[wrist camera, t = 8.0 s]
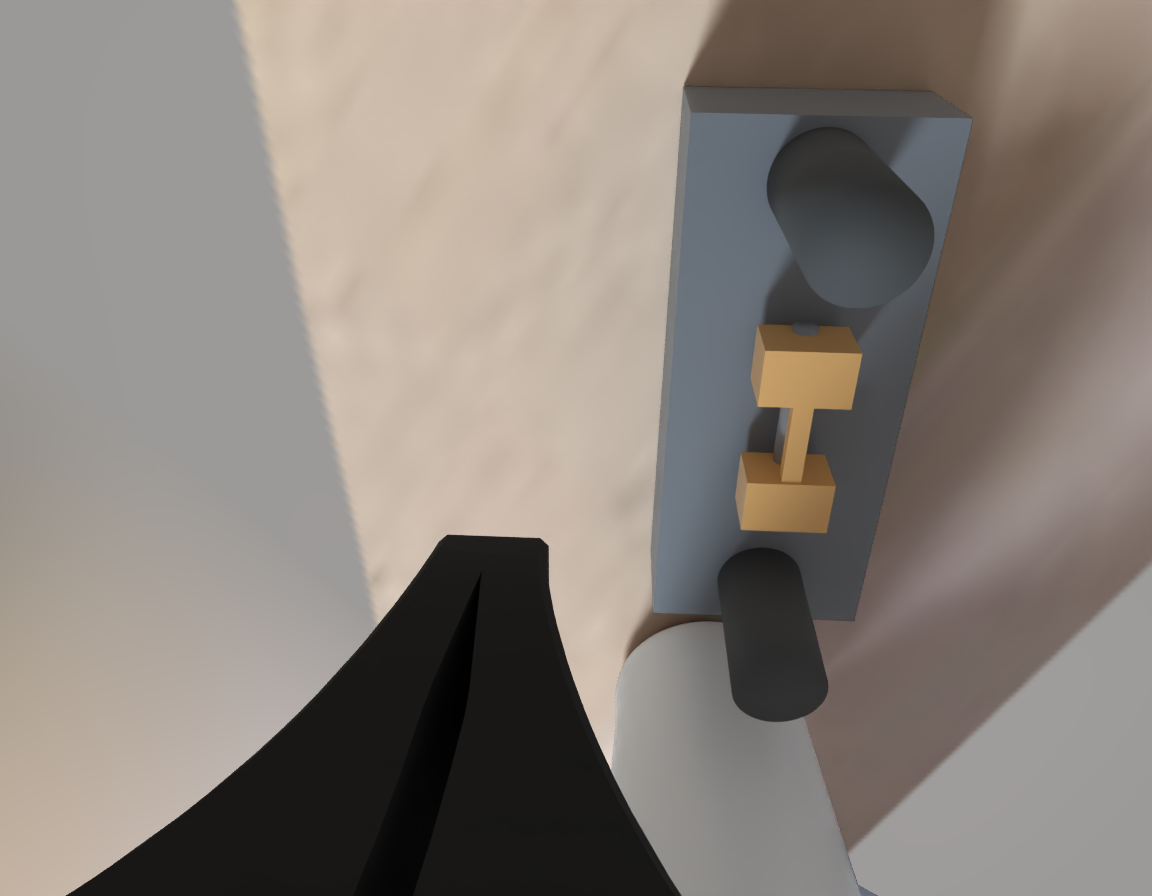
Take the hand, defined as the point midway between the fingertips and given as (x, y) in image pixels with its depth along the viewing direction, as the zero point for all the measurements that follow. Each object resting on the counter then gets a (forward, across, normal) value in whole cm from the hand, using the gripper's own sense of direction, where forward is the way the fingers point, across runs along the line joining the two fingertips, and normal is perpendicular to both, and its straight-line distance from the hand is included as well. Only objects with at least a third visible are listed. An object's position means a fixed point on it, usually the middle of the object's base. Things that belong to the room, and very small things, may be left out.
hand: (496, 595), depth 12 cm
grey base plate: (+10, -5, +1) cm, 12 cm away
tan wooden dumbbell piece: (+8, -5, +1) cm, 9 cm away
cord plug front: (+8, -5, -3) cm, 10 cm away
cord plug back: (+8, -5, +6) cm, 11 cm away
